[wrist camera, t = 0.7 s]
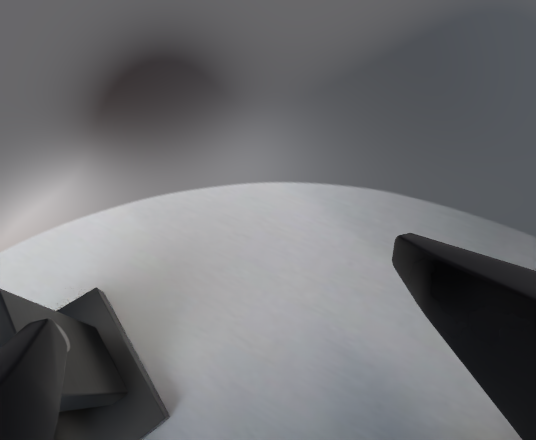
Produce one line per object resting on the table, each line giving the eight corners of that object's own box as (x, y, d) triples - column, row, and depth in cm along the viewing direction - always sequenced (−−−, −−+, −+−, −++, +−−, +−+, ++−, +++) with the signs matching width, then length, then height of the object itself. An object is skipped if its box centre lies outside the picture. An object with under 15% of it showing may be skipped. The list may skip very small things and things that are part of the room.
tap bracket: (170, 416, 18) (102, 443, 9) (44, 517, 16) (-199, 675, 7) (103, 292, 21) (6, 226, 12) (-10, 360, 19) (-225, 336, 10)
